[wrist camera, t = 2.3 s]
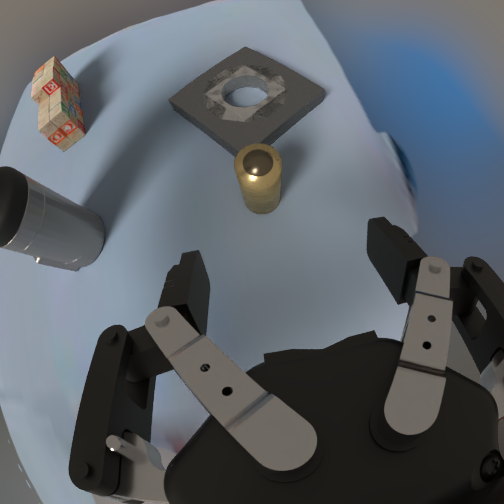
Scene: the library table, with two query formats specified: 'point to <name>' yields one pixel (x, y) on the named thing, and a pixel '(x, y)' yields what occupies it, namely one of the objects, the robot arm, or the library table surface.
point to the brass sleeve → (259, 177)
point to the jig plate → (254, 117)
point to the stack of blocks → (58, 104)
